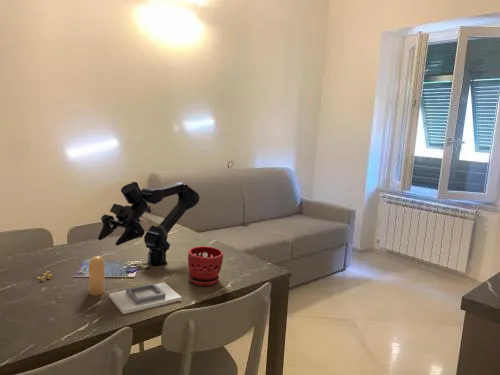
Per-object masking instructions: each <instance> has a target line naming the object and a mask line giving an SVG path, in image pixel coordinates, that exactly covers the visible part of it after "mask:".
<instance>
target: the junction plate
mask: <svg viewBox="0 0 500 375" xmlns="http://www.w3.org/2000/svg"><path fill="white" fill-rule="evenodd" d="M108 295H109V299H110V300H111V301H112V302H113V303H114V305H115V306H116V308H117V309H118V310H119V311H120V312H121V313H122V315H125V314H129V313H134V312H138V311H143V310H147V309H151V308H156V307H159V306H163V305H164V306H165V305H169V304H172V302H173V303H176V301H177V302H180V301H182V296H181V295H180V294H178V293H177V292H176V291H175V290H174V289H172V288H171V287H170V286H169V285H168V284H167V283H166V282H160V283H154V282H151V283H147V284H142V285H138V286H133V287H128V288H125V290H122V291H121V290H120V291H116V292H112V293H111V292H110V293H109V294H108Z"/></svg>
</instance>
